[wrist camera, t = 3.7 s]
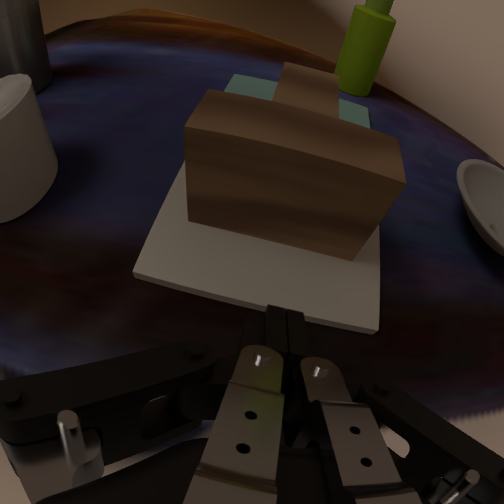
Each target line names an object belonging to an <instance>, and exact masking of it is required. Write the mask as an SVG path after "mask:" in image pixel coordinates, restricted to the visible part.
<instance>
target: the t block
mask: <svg viewBox="0 0 504 504" xmlns="http://www.w3.org/2000/svg"><path fill="white" fill-rule="evenodd" d="M184 145H185V173H186V194H187V212H188V221H189V222H194V223H198V224H202V225H206V226H210V227H215V228H219V229H223V230H227V231H231V232H235V233H240V234H244V235H248V236H252V237H256V238H260V239H264V240H268V241H272V242H276V243H280V244H284V245H289V246H293V247H297V248H301V249H305V250H309V251H313V252H317V253H321V254H325V255H328V256H332V257H336V258H340V259H344V260H348V261H353V259H354V258H355V257H356V255H357V254H358V253H359V251H360V250H361V248H362V247H363V246H364V244H365V243H366V242H367V240H368V239H369V237H370V236H371V235H372V233H373V232H374V230H375V229H376V228H377V226H378V225H379V223H380V222H381V221H382V219H383V218H384V216H385V215H386V213H387V212H388V210H389V209H390V208H391V206H392V205H393V203H394V202H395V200H396V199H397V197H398V196H399V194H400V193H401V191H402V190H403V188H404V187H405V185H406V178H405V172H404V167H403V162H402V157H401V152H400V147H399V142H398V138H395V137H392V136H390V135H387V134H384V133H381V132H379V131H376V130H373V129H370V128H367V127H364V126H361V125H358V124H355V123H352V122H348V121H345V120H342V119H339V78H338V76H337V75H334V74H330V73H327V72H323V71H320V70H316V69H312V68H308V67H304V66H300V65H296V64H292V63H288V62H285V64H284V66H283V69H282V72H281V75H280V78H279V81H278V84H277V87H276V90H275V93H274V96H273V99H272V101H270V100H265V99H260V98H256V97H251V96H246V95H240V94H235V93H229V92H224V91H218V90H212V89H208V90H207V92H206V93H205V95H204V96H203V98H202V99H201V101H200V102H199V104H198V105H197V107H196V108H195V110H194V111H193V113H192V114H191V116H190V118H189V119H188V121H187V122H186V124H185V125H184Z"/></svg>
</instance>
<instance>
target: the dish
mask: <svg viewBox="0 0 504 504" xmlns="http://www.w3.org/2000/svg"><path fill="white" fill-rule="evenodd" d="M457 182H458V186H459V189H460V192H461V194H462V198H463V202H464V206H465V209H466V212H467V215H468V217H469V219H470V221H471V223H472V225H473V226H474V228H475V230H476V231H477V232H478V234H479V235H480V236H481V238H482V239H483V240H484V241H485V242H486V243H487V244H488V245H489V246H490V247H491V248H492V249H493V250H494V251H496V252H497V253H499V254H500V255H502V256H503V257H504V171H503V170H502V169H500V168H498V167H496V166H495V165H492V164H490V163H488V162H485V161H482V160H477V159H469V160H465V161H464V162H462V163H461V164H460V165H459V167H458V170H457Z"/></svg>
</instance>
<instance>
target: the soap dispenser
mask: <svg viewBox="0 0 504 504" xmlns="http://www.w3.org/2000/svg"><path fill="white" fill-rule="evenodd" d="M393 1H394V0H366V4H365V6H364V5H355V7H354V10H353V14H352V17H351V21H350V23H349V27H348V30H347V34H346V37H345V40H344V43H343V46H342V50H341V53H340V56H339V59H338V62H337V66H336V69H335V72H334V75H337V76H338V78H339V89H340V90H341V91H343V92H345V93H348V94H350V95H354V96H359V97H364V96H367V95H368V94H369V91H370V89H371V86H372V84H373V81H374V79H375V76H376V74H377V71H378V68H379V66H380V63H381V61H382V58H383V56H384V53H385V50H386V48H387V45H388V42H389V40H390V37H391V35H392V32H393V29H394V27H395V24H396V20H395V19H394V18H393V17H391V16H390V15H389V13H390V10H391V7H392V4H393Z"/></svg>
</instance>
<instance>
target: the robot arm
mask: <svg viewBox="0 0 504 504" xmlns="http://www.w3.org/2000/svg"><path fill="white" fill-rule="evenodd" d="M19 73H20V74H23V75H28V76H29V77H30V79H31V81H32V85H33V89H34V91H35V94H37V93H38V92H40V91H41V90H43V89H44V88H45V87H46V86H47V85H48V84H49V83H50V82H51V81H52V78H53V74H52V70H51V65H50V61H49V56H48V51H47V46H46V41H45V36H44V30H43V25H42V19H41V12H40V6H39V0H0V78H3V77H6V76H8V75H16V74H19ZM322 346H323V345H322V341H321V337H320V333H319V332H318V331H317V330H316V329H315V327H314V326H311V325H306V323H305V318H304V313H303V312H300V311H296V310H291V309H287V308H286V309H285V308H283V307H278V306H274V305H270V304H268V305H267V307H266V310H265V314H264V315H262V314H258V313H251V314H250V315H248V316H247V317H246V321H245V325H244V329H243V333H242V337H241V341H240V344H239V349H238V353H237V354H236V355H234V356H231V357H216V354H215V352H214V351H213V350H212V349H211V348H210V347H208V346H207V345H205V344H202V343H199V342H195V341H180V342H176V343H172V344H168V345H164V346H160V347H157V348H153V349H149V350H145V351H141V352H137V353H132V354H128V355H124V356H120V357H116V358H111V359H107V360H102V361H98V362H93V363H89V364H84V365H80V366H75V367H70V368H65V369H60V370H55V371H50V372H45V373H39V374H34V375H28V376H22V377H17V378H11V379H4V380H0V442H1V445H2V447H3V449H4V451H5V453H6V455H7V457H8V460H9V462H10V464H11V466H12V468H13V469H14V471H15V473H16V475H17V476H18V477H19V478H20V481H21V483H22V485H23V487H24V489H25V492H26V494H27V496H28V498H29V500H30V502H31V504H504V458H502V457H501V456H499V455H498V454H496V453H495V452H493V451H492V450H490V449H488V448H487V447H485V446H484V445H482V444H481V443H479V442H478V441H476V440H475V439H473V438H472V437H470V436H468V435H467V434H466V433H464V432H462V431H461V430H459V429H458V428H456V427H455V426H453V425H452V424H450V423H449V422H447V421H446V420H444V419H443V418H441V417H440V416H439V415H437V414H436V413H434V412H433V411H431V410H430V409H428V408H427V407H425V406H424V405H422V404H421V403H419V402H418V401H416V400H415V399H413V398H412V397H411V396H409V395H408V394H406V393H405V392H403V391H402V390H400V389H399V388H397V387H396V386H395V385H393V384H392V383H390V382H388V381H386V380H384V379H381V378H377V377H369V378H366V379H364V380H363V382H362V384H361V386H360V387H358V386H355V385H352V384H349V383H347V382H344V379H343V377H342V375H341V372H340V370H339V368H338V367H337V366H336V365H335V364H333V363H332V362H330V361H328V360H326V357H325V353H324V349H323V347H322ZM163 395H164V397H162V398H160V399H157V400H154V401H151V402H149V401H150V400H152V399H154V398H157V397H160V396H163ZM147 402H148V403H147ZM202 420H215V422H214V425H213V428H212V430H211V433H210V436H209V438H199V439H192V440H188V441H184V442H182V443H178V444H176V445H174V446H172V447H170V448H167V449H165V450H163V451H161V452H159V453H157V454H155V455H153V456H151V457H148V458H146V459H144V460H142V461H140V462H137V463H135V464H133V465H131V466H128V467H126V468H124V469H121V470H119V471H117V472H114V473H112V474H109V475H107V476H104V477H102V475H103V472H104V466H106V465H109V464H112V463H114V462H117V461H120V460H122V459H125V458H128V457H131V456H133V455H136V454H138V453H141V452H143V451H146V450H148V449H151V448H153V447H156V446H158V445H160V444H163V443H165V442H167V441H169V440H172V439H174V438H176V437H179V436H181V435H183V434H185V433H187V432H190V431H192V430H194V429H196V428H198V427H199V426H200V425H201V423H202ZM383 423H384V424H385V425H386V426H388V427H389V428H390V429H391V430H393V431H394V432H395V433H397V434H398V435H400V436H401V437H402V438H404V439H405V440H406V441H407V442H408V444H409V446H410V451H409V453H408V455H407V456H406V458H402V457H400V456H399V455H398V454H396V453H395V452H394V451H392V450H391V449H390V448H389V447H387V446H386V443H385V441H384V439H383V436H382V434H381V432H380V428H381V427H382V425H383ZM101 477H102V478H101ZM441 477H442V478H441Z"/></svg>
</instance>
